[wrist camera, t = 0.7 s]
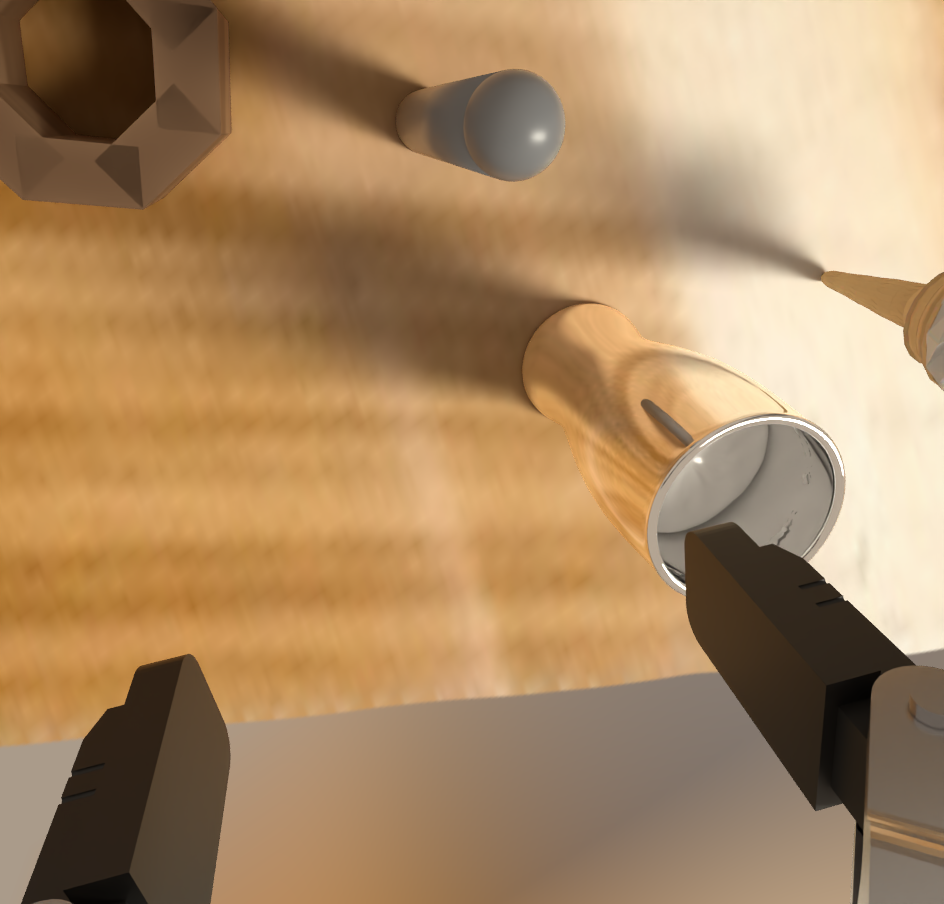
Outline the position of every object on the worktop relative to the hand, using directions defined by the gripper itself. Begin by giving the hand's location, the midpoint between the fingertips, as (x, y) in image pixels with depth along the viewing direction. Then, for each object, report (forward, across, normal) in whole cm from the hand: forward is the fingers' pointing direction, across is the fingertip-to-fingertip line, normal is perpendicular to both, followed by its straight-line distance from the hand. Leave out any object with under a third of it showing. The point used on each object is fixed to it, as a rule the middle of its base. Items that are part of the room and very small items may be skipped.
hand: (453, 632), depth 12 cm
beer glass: (+23, -9, +5) cm, 26 cm away
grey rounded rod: (+23, -4, -6) cm, 24 cm away
